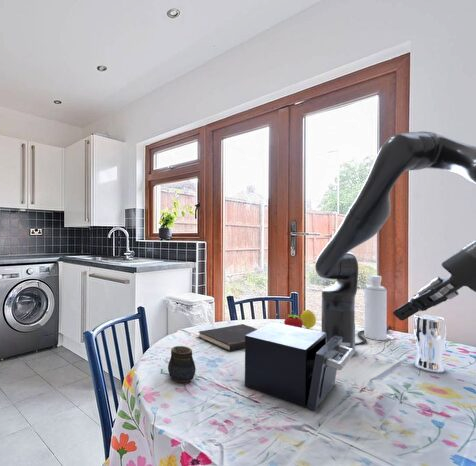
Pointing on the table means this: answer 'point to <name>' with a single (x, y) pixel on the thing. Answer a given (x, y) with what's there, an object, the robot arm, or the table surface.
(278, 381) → the oven
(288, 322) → the strawberry
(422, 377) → the table surface
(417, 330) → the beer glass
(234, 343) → the hardcover book
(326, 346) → the oven door
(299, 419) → the table surface
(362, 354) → the table surface
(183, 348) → the mate gourd
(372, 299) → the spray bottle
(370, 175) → the robot arm
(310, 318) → the lemon
